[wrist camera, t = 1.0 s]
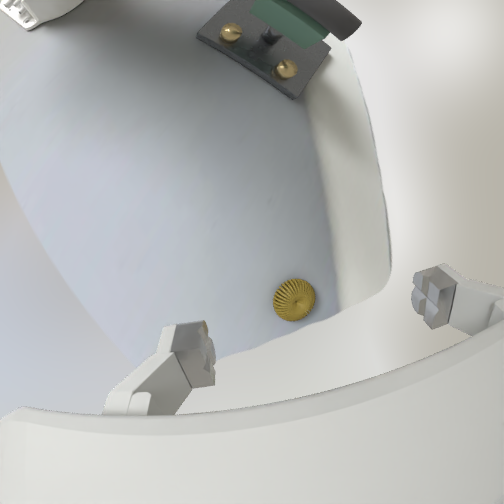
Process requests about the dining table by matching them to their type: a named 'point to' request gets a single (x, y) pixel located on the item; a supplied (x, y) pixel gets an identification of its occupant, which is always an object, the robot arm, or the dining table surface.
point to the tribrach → (262, 47)
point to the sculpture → (294, 299)
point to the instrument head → (307, 19)
